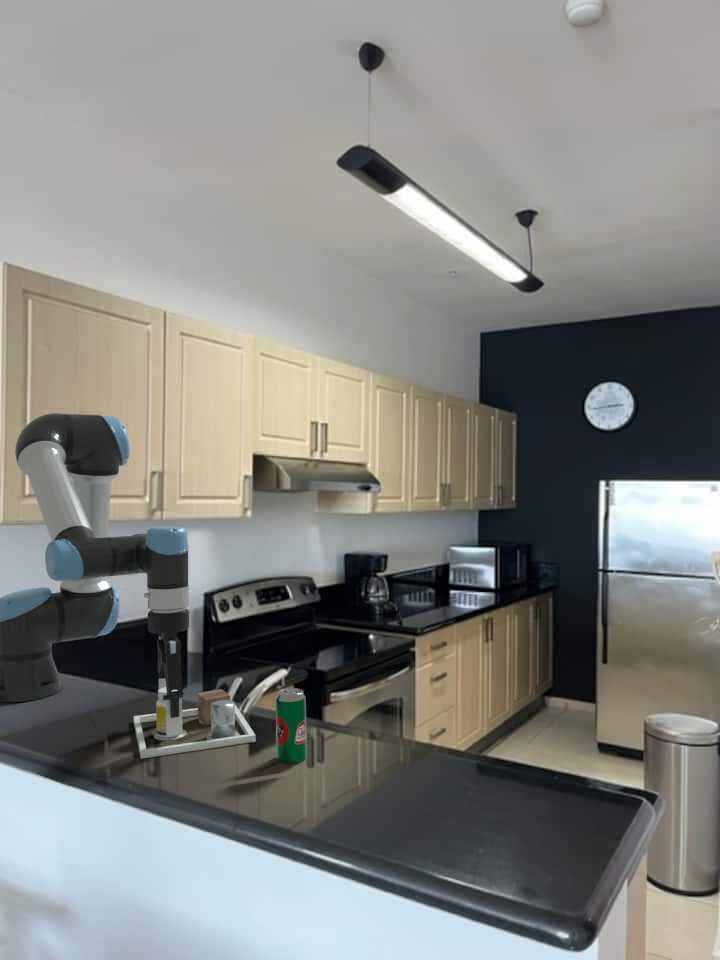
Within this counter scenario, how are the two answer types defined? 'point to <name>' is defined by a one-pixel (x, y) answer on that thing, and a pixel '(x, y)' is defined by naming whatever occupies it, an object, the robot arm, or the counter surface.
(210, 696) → the walnut block
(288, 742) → the soda can
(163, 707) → the supplement bottle
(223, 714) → the translucent grey cylinder
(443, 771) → the counter surface
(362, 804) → the counter surface
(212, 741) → the collection tray
